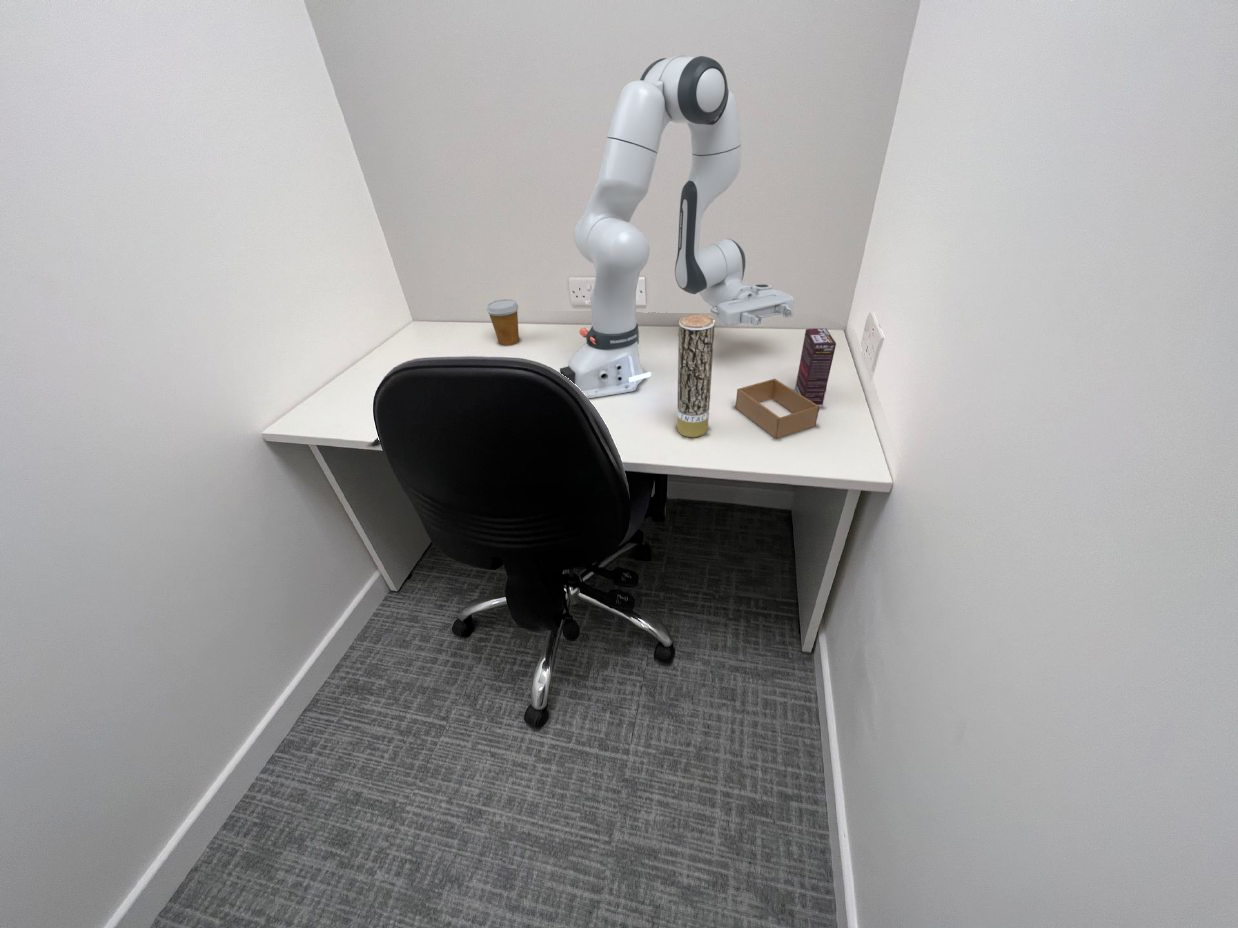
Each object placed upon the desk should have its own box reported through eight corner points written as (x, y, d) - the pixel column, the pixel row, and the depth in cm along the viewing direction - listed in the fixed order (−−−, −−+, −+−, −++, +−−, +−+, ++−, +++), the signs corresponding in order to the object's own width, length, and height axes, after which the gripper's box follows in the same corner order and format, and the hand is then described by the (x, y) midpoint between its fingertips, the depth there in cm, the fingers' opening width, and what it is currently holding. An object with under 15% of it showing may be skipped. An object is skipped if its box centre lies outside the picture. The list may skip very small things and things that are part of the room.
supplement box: (823, 408, 114) (837, 343, 105) (801, 408, 115) (813, 343, 105) (814, 390, 121) (827, 327, 111) (794, 390, 121) (804, 328, 112)
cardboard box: (776, 439, 105) (779, 419, 102) (735, 407, 116) (737, 389, 113) (815, 426, 108) (819, 406, 105) (771, 397, 119) (774, 378, 116)
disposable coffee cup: (530, 338, 157) (523, 301, 150) (509, 349, 151) (502, 311, 144) (508, 333, 162) (501, 297, 154) (487, 344, 155) (478, 306, 148)
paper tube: (674, 423, 112) (676, 316, 97) (704, 420, 112) (710, 313, 98) (679, 440, 107) (682, 328, 92) (710, 437, 107) (718, 325, 92)
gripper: (707, 296, 125) (740, 313, 114) (774, 283, 131) (810, 297, 120) (706, 321, 128) (737, 339, 118) (770, 306, 135) (805, 323, 124)
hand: (774, 318), depth 119 cm, fingers open, 8 cm apart
